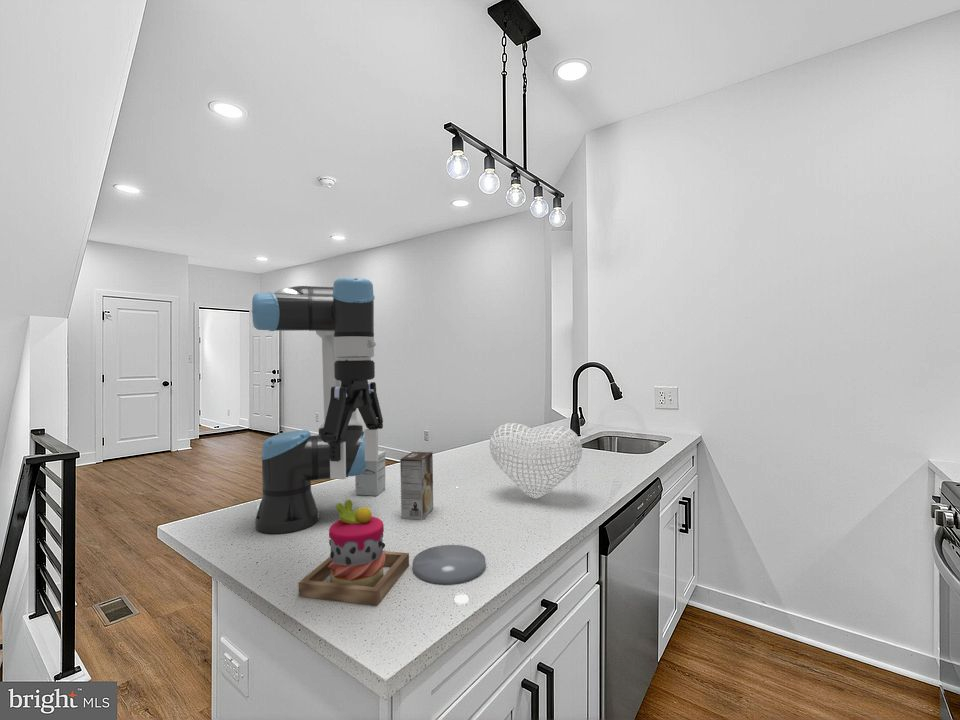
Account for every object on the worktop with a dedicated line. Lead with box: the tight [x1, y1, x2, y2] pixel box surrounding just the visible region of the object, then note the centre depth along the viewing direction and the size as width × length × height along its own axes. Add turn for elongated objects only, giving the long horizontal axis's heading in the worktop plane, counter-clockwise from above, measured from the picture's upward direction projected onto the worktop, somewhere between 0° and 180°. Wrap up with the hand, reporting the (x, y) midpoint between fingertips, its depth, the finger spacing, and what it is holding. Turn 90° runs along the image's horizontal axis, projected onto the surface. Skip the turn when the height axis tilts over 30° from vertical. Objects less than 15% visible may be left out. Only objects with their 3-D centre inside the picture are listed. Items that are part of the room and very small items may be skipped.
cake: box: [328, 498, 386, 587], centre depth 89 cm, size 10×11×15 cm
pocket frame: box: [297, 550, 410, 606], centre depth 90 cm, size 15×15×2 cm
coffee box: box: [399, 451, 434, 521], centre depth 126 cm, size 9×6×16 cm
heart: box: [489, 422, 583, 499], centre depth 138 cm, size 28×16×22 cm, turn 65°
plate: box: [412, 544, 486, 585], centre depth 95 cm, size 15×15×1 cm
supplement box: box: [354, 450, 386, 497], centre depth 145 cm, size 7×7×13 cm
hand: (356, 469), depth 89 cm, fingers open, 13 cm apart
